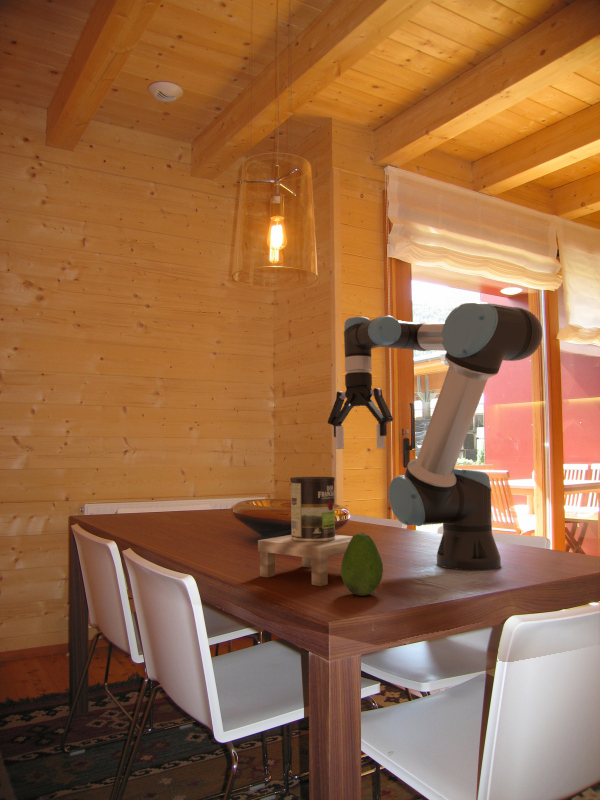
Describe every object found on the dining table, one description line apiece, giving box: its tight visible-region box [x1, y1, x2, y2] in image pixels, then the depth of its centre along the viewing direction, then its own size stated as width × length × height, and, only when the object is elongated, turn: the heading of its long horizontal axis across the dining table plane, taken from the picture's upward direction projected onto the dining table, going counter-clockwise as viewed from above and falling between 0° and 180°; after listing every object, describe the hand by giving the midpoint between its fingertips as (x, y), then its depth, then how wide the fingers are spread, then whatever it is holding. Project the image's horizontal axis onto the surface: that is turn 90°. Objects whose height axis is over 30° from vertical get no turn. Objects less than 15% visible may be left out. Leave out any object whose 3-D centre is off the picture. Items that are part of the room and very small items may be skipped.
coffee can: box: [290, 476, 336, 542], centre depth 141 cm, size 10×10×14 cm
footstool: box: [257, 534, 354, 587], centre depth 140 cm, size 18×18×8 cm
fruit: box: [340, 532, 384, 597], centre depth 120 cm, size 8×8×12 cm
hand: (359, 448), depth 170 cm, fingers open, 13 cm apart
